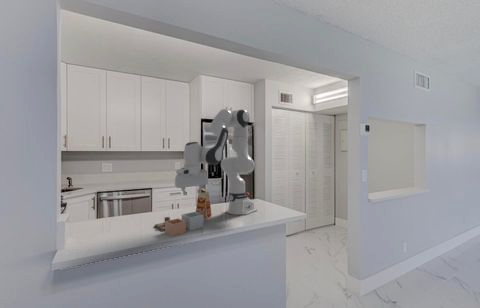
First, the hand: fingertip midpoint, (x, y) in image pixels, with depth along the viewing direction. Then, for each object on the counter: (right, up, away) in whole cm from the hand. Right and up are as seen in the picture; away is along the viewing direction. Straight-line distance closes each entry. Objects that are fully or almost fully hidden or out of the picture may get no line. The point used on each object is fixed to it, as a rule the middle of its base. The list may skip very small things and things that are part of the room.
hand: (192, 193), depth 137 cm
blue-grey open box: (0, -19, 0) cm, 19 cm away
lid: (-14, -18, 0) cm, 23 cm away
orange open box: (-7, -19, -9) cm, 23 cm away
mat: (-15, -19, 0) cm, 24 cm away
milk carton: (+3, -19, +19) cm, 27 cm away
